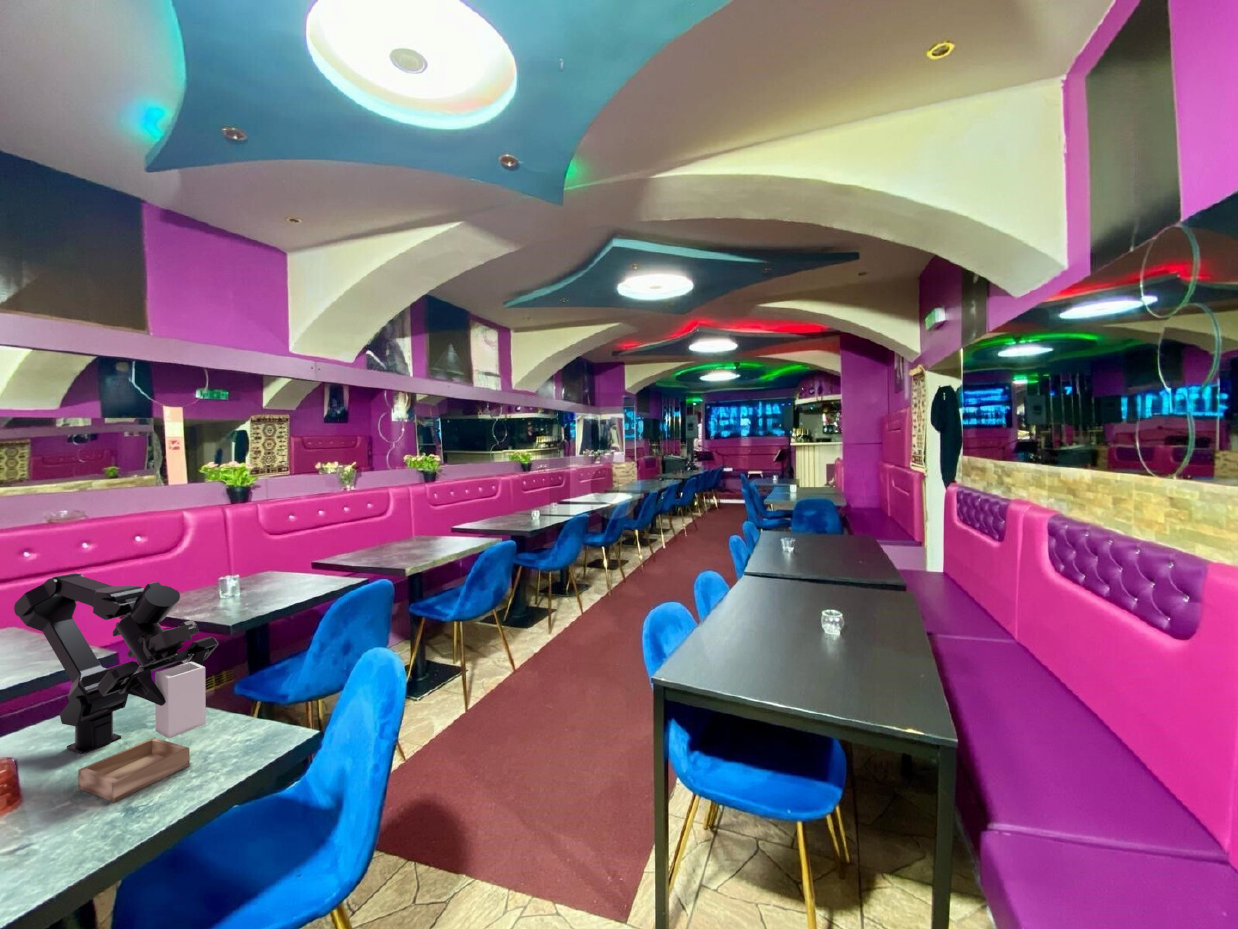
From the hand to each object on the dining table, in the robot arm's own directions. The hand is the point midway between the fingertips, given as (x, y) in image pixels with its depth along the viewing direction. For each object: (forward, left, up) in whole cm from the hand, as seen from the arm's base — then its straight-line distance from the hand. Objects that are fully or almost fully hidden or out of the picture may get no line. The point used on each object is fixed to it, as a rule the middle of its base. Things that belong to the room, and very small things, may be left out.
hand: (183, 696), depth 100 cm
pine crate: (-3, -6, -13) cm, 15 cm away
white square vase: (-1, 0, -7) cm, 7 cm away
